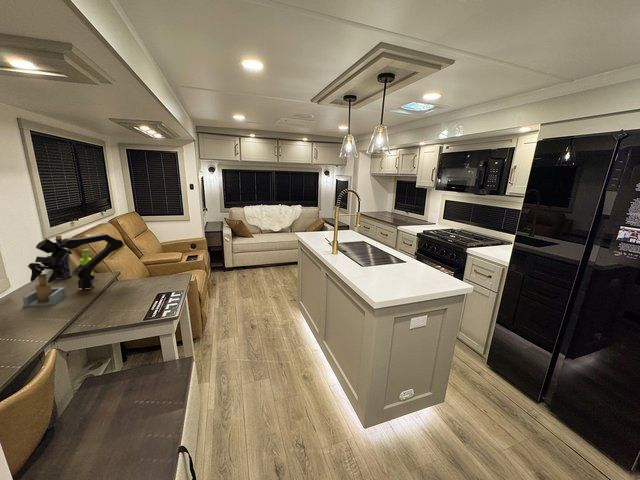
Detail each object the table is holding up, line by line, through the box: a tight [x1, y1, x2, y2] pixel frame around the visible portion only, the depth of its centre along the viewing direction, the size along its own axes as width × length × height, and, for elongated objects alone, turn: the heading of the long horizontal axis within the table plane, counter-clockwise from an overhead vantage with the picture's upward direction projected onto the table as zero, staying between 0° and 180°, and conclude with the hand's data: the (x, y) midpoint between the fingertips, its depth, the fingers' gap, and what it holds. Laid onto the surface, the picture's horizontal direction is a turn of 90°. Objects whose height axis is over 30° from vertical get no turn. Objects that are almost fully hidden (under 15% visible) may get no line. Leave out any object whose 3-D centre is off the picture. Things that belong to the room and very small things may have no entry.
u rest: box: [22, 287, 67, 308], centre depth 147 cm, size 12×13×6 cm
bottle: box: [50, 234, 73, 279], centre depth 179 cm, size 9×9×30 cm
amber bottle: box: [35, 273, 52, 302], centre depth 146 cm, size 6×6×15 cm
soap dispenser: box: [79, 248, 94, 276], centre depth 185 cm, size 6×7×20 cm
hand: (39, 281), depth 143 cm, fingers open, 9 cm apart
